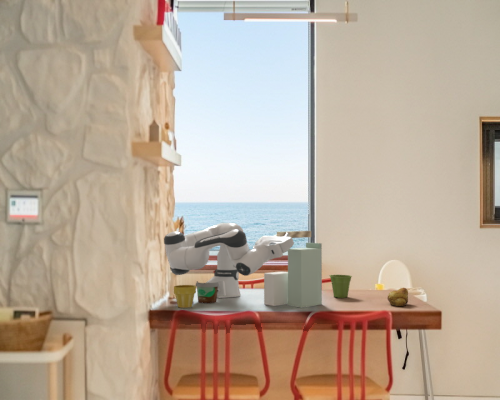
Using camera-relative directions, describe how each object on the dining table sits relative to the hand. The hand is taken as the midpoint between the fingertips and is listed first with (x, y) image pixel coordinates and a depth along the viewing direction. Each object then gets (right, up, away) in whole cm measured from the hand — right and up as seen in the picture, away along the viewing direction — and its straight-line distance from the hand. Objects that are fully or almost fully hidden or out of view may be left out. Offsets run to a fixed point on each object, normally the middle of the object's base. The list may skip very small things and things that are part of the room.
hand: (284, 233), depth 240 cm
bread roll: (+55, -35, +8) cm, 66 cm away
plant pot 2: (+32, -36, +32) cm, 57 cm away
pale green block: (+10, -35, +8) cm, 37 cm away
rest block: (-2, -35, +11) cm, 37 cm away
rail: (+5, -2, +4) cm, 7 cm away
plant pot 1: (-47, -35, +3) cm, 59 cm away
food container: (-38, -35, +15) cm, 54 cm away
